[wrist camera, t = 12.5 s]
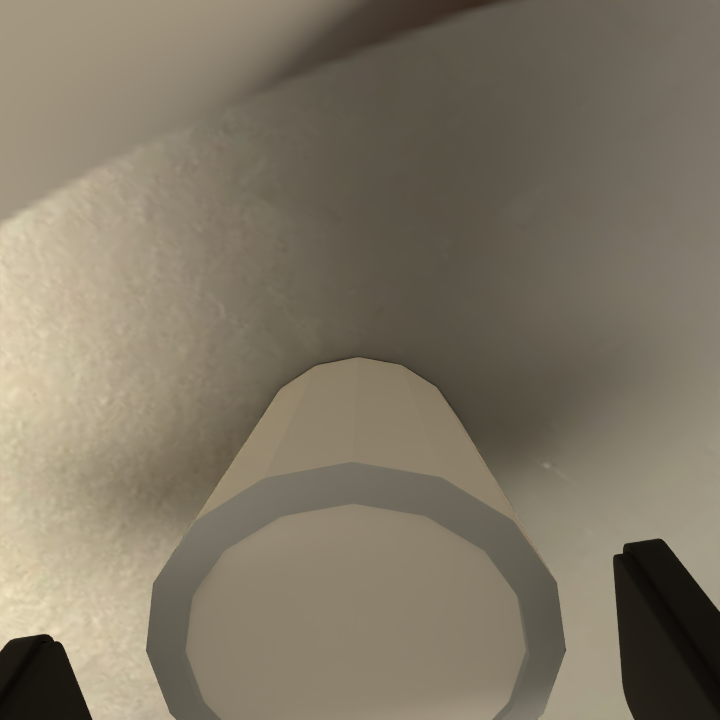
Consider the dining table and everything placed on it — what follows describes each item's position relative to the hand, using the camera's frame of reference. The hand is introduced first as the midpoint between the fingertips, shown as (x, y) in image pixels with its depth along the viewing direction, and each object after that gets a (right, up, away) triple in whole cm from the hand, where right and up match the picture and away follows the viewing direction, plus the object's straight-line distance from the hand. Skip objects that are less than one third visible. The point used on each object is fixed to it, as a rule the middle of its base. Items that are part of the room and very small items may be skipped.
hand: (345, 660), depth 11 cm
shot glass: (0, +2, +7) cm, 7 cm away
